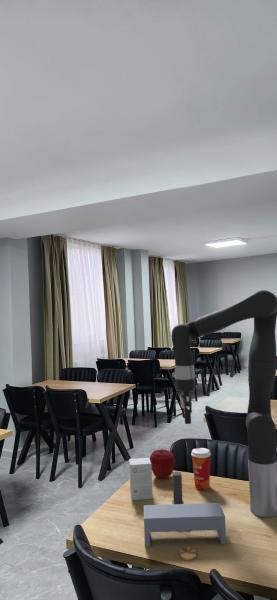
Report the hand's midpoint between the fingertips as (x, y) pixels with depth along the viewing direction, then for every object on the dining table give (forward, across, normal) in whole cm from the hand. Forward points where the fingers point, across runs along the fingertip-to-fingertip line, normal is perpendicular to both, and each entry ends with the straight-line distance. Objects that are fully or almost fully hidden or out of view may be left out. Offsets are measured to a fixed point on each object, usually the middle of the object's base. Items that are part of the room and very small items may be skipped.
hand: (186, 420), depth 144 cm
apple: (+28, +18, +9) cm, 35 cm away
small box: (+28, +2, +18) cm, 34 cm away
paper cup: (+28, +8, -6) cm, 30 cm away
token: (+28, -35, +5) cm, 45 cm away
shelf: (+28, -26, +5) cm, 39 cm away
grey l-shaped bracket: (+28, -13, +5) cm, 32 cm away
